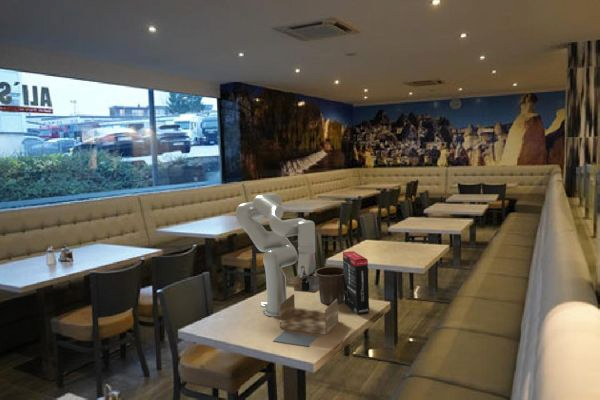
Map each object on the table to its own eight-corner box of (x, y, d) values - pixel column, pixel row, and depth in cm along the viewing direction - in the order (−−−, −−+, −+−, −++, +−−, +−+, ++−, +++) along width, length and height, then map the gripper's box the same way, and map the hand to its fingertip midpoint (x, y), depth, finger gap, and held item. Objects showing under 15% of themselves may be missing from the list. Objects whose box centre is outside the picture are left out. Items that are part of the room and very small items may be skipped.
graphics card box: (370, 314, 216) (369, 257, 212) (356, 316, 214) (355, 259, 211) (355, 302, 232) (354, 250, 229) (343, 304, 230) (341, 251, 227)
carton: (278, 330, 201) (277, 305, 200) (295, 315, 217) (294, 293, 216) (325, 336, 192) (324, 311, 191) (339, 321, 209) (338, 297, 207)
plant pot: (335, 309, 224) (334, 277, 222) (309, 302, 234) (308, 272, 232) (353, 300, 236) (353, 269, 234) (328, 294, 247) (328, 265, 245)
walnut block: (294, 290, 203) (293, 277, 202) (298, 287, 207) (298, 274, 207) (315, 293, 199) (314, 279, 198) (319, 289, 203) (318, 276, 203)
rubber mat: (273, 341, 189) (273, 340, 189) (283, 332, 198) (283, 331, 198) (308, 347, 183) (308, 346, 183) (317, 337, 192) (317, 336, 192)
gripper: (306, 244, 210) (307, 282, 212) (291, 252, 194) (292, 293, 197) (321, 245, 207) (322, 283, 209) (307, 253, 191) (308, 295, 194)
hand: (308, 288), depth 203 cm, fingers closed on walnut block, 5 cm apart
